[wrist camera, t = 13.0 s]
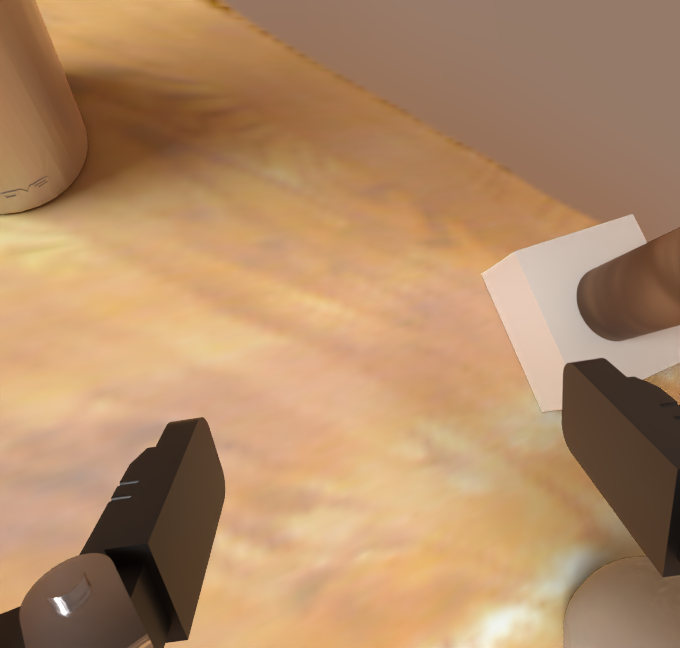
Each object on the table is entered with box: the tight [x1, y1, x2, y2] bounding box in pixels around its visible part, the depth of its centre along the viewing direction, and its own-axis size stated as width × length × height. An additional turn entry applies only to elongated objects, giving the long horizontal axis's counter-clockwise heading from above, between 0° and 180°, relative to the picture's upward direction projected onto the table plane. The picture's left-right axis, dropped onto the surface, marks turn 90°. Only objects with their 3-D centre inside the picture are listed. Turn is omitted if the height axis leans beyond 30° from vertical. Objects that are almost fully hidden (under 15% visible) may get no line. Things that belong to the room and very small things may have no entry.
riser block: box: [481, 214, 680, 412], centre depth 33 cm, size 10×10×4 cm
